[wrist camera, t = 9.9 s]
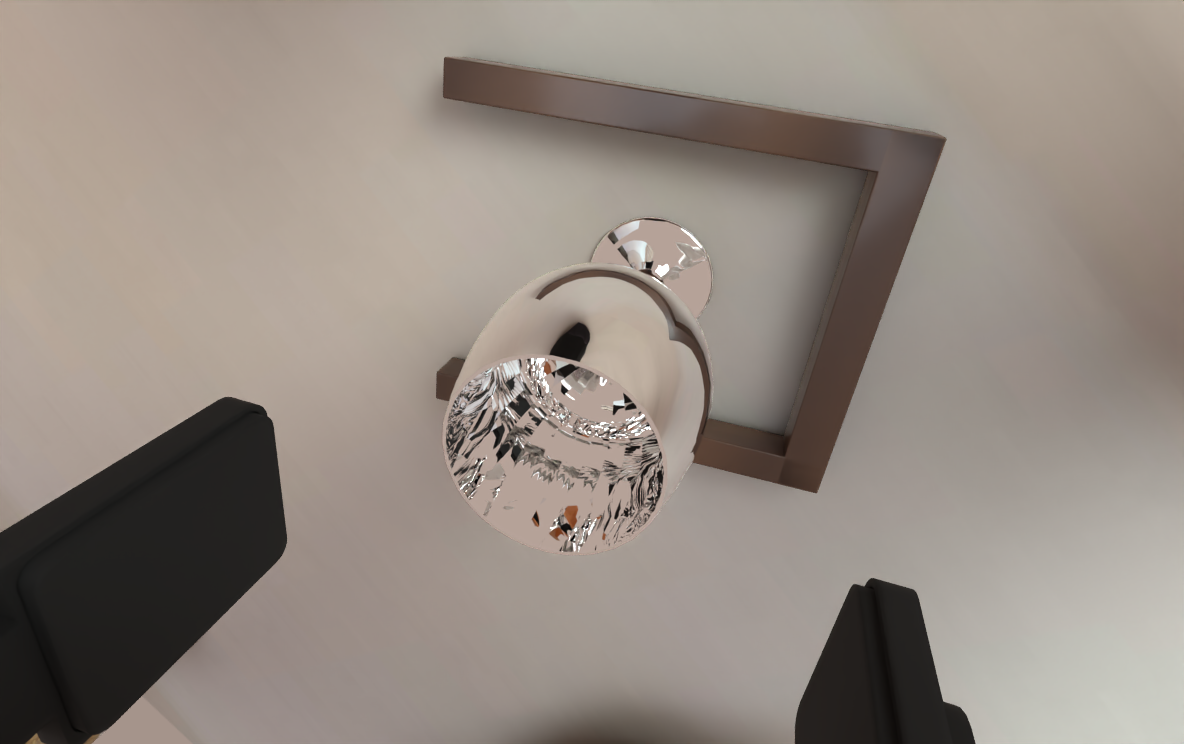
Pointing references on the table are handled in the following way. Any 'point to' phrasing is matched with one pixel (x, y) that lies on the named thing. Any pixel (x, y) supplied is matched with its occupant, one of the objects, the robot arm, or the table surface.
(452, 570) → the table surface
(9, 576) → the robot arm
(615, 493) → the wineglass
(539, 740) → the table surface
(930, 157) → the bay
